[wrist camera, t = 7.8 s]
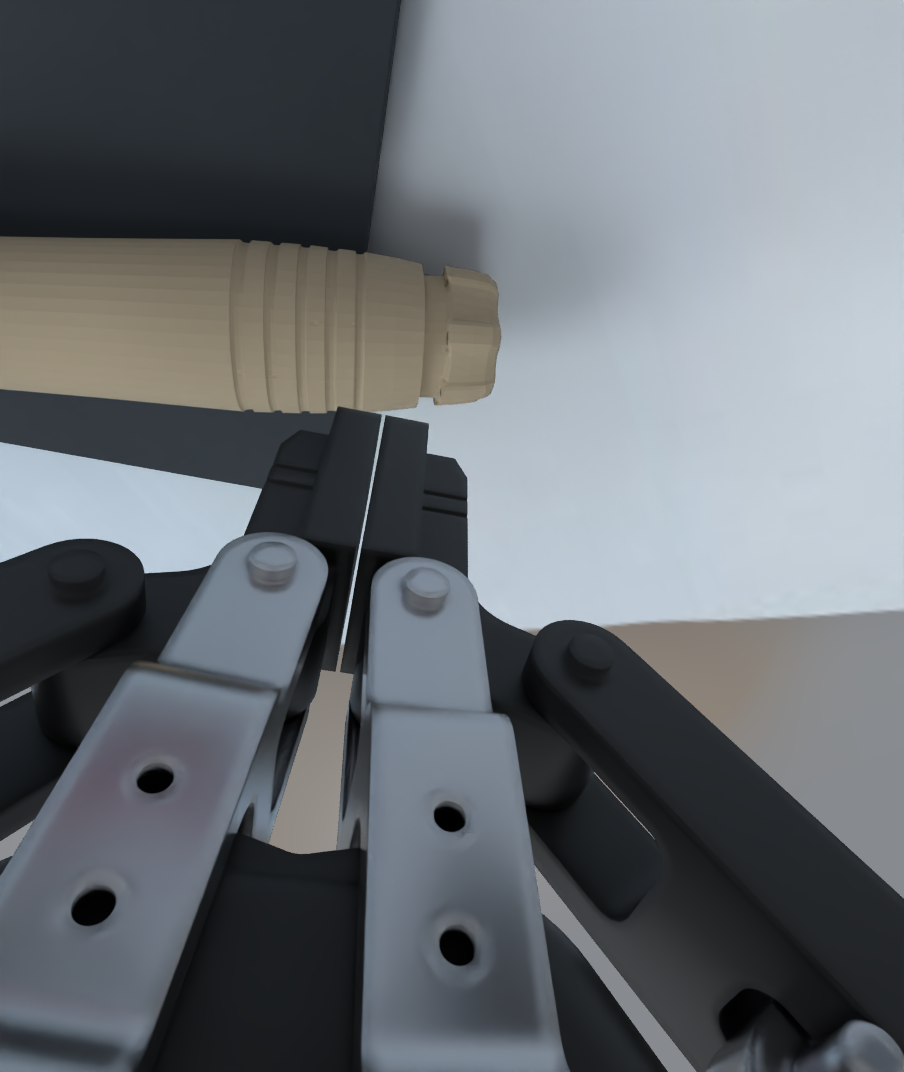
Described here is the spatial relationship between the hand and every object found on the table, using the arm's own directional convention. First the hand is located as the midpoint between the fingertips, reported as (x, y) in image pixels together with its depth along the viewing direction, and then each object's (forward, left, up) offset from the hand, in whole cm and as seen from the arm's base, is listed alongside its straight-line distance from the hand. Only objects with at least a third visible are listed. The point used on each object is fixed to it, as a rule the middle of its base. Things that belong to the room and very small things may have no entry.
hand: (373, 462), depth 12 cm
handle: (-2, +2, -7) cm, 7 cm away
